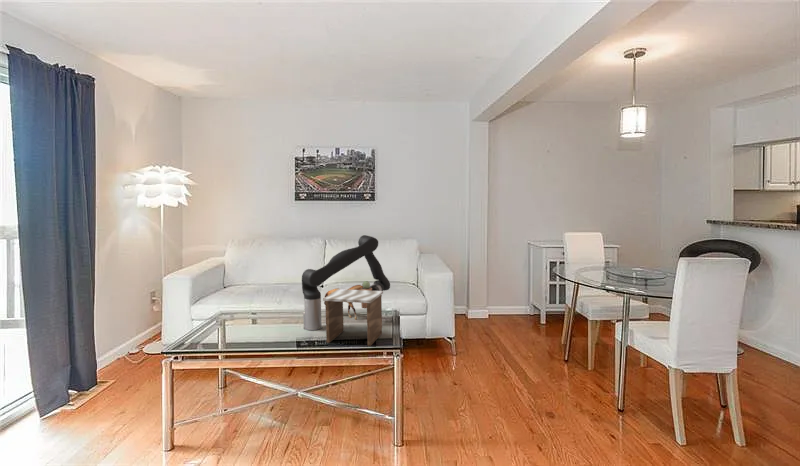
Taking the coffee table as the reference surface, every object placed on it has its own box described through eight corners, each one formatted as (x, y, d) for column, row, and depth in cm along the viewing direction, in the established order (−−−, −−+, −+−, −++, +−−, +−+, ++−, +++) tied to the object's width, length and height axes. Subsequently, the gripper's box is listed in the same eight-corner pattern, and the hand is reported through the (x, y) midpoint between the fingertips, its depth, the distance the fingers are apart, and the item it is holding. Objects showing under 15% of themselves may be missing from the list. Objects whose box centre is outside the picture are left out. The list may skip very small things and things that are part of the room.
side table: (324, 343, 243) (323, 298, 241) (340, 330, 264) (339, 289, 262) (371, 346, 237) (370, 300, 235) (383, 333, 258) (383, 291, 256)
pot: (359, 308, 273) (358, 282, 271) (363, 305, 279) (362, 279, 278) (370, 308, 271) (369, 282, 270) (373, 305, 278) (373, 280, 276)
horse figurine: (367, 318, 288) (366, 284, 286) (359, 321, 281) (359, 287, 279) (326, 312, 303) (325, 280, 301) (318, 315, 296) (317, 282, 294)
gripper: (362, 284, 290) (353, 290, 274) (385, 285, 286) (377, 291, 270) (362, 296, 291) (353, 303, 274) (385, 297, 287) (377, 304, 271)
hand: (365, 297), depth 272 cm, fingers closed on pot, 6 cm apart
